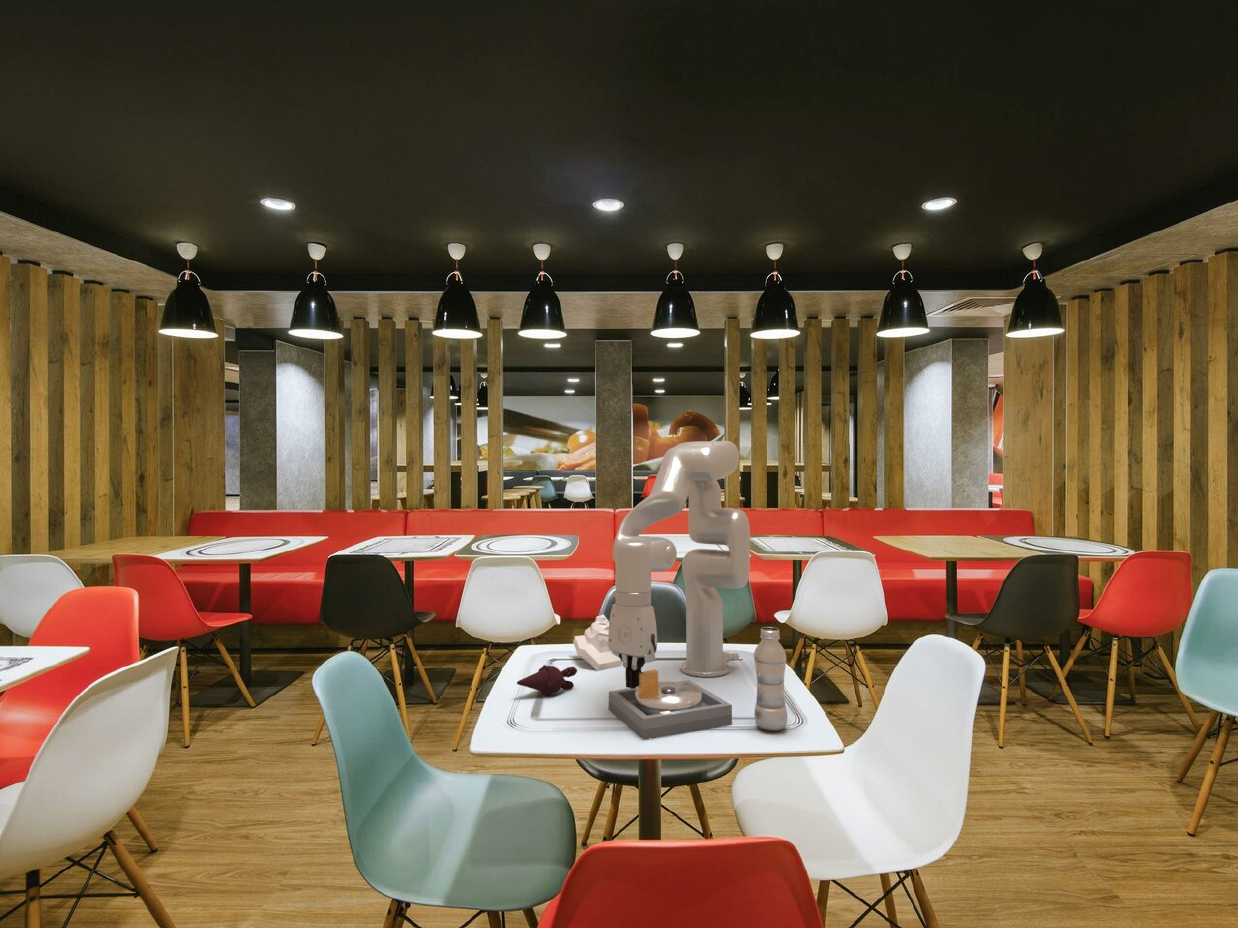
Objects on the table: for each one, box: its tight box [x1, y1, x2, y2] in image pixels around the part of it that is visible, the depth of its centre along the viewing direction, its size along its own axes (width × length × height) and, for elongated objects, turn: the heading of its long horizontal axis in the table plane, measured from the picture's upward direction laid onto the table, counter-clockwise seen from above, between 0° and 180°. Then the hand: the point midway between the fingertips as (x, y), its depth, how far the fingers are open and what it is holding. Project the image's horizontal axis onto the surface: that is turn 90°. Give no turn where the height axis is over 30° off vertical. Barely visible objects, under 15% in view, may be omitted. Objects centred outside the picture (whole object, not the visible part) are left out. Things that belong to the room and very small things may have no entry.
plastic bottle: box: [753, 626, 789, 732], centre depth 135 cm, size 6×7×20 cm
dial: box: [635, 669, 702, 715], centre depth 141 cm, size 14×14×8 cm
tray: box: [608, 679, 733, 740], centre depth 141 cm, size 20×18×4 cm
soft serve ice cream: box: [572, 614, 623, 671], centre depth 182 cm, size 12×15×14 cm
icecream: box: [516, 664, 578, 697], centre depth 156 cm, size 7×7×15 cm
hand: (633, 686), depth 140 cm, fingers closed
